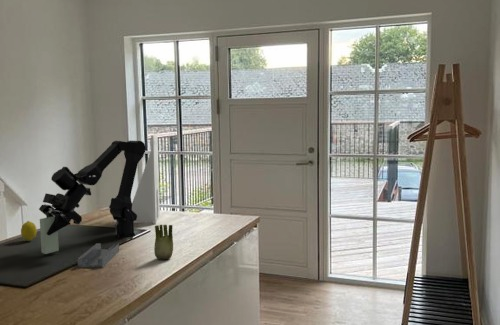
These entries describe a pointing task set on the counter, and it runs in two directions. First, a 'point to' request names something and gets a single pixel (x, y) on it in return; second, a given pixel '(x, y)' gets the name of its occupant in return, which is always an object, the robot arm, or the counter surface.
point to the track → (97, 256)
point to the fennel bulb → (163, 242)
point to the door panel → (48, 236)
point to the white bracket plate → (148, 189)
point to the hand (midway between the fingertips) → (45, 234)
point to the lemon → (28, 230)
